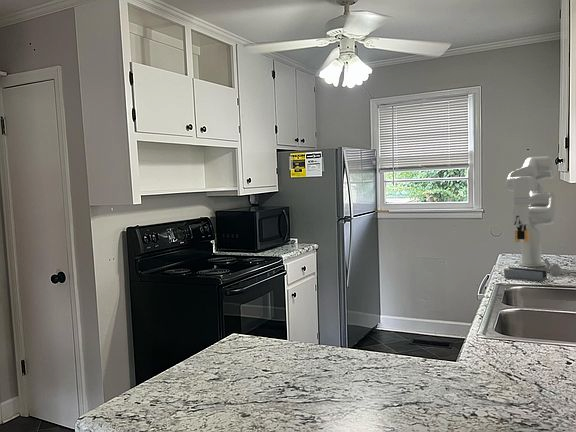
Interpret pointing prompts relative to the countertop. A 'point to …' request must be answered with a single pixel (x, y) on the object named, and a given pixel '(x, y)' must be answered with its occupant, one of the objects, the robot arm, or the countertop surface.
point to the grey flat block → (525, 273)
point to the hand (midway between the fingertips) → (522, 238)
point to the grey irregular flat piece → (553, 268)
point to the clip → (526, 234)
